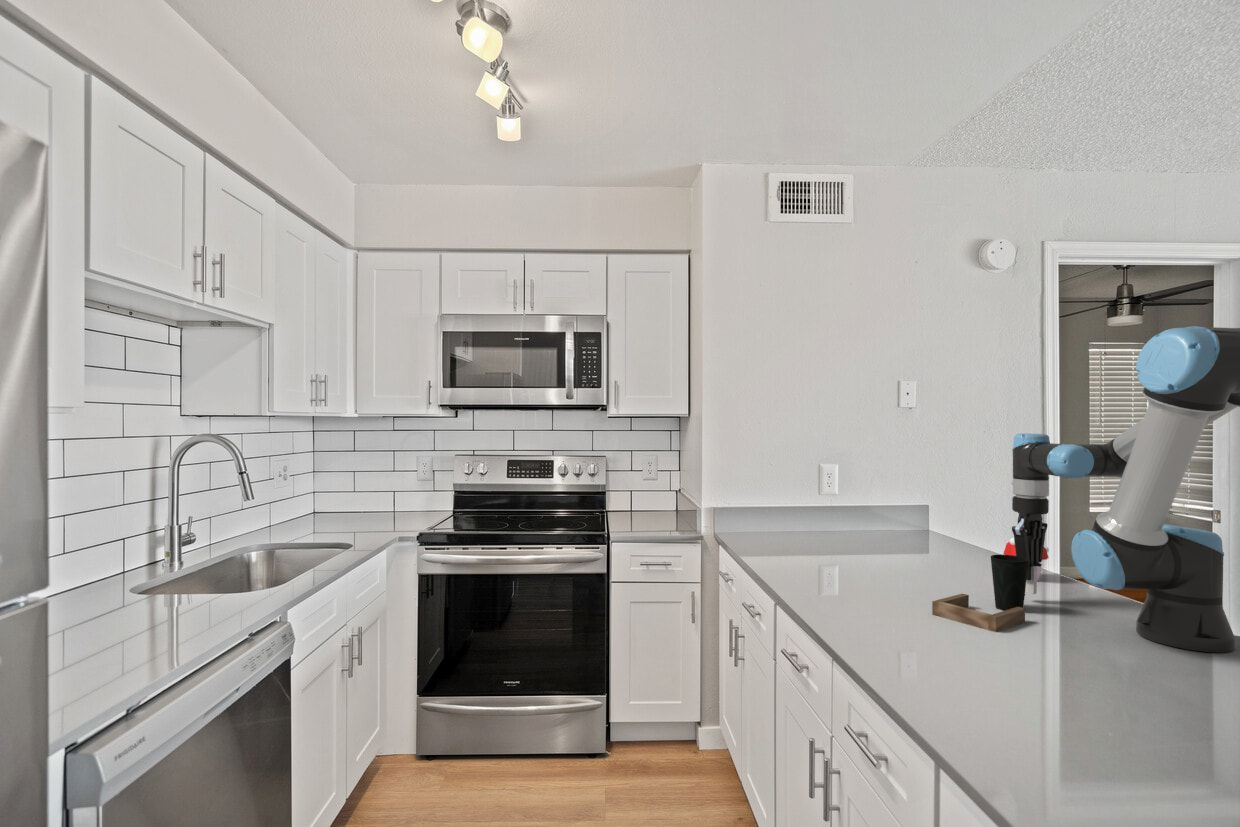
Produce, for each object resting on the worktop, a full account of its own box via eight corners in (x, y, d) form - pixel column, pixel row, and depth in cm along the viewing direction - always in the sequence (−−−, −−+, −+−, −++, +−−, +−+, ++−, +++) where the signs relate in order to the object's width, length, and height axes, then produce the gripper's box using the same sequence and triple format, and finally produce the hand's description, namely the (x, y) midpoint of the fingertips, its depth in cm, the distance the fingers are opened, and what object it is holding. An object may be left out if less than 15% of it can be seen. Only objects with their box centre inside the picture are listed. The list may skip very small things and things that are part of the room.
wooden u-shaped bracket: (1025, 621, 142) (1025, 608, 142) (995, 631, 135) (995, 617, 135) (962, 606, 154) (962, 593, 154) (932, 614, 147) (932, 601, 147)
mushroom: (1035, 574, 186) (1035, 533, 186) (1057, 584, 175) (1057, 540, 175) (996, 573, 187) (996, 532, 187) (1015, 583, 176) (1016, 539, 176)
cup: (1034, 614, 148) (1034, 562, 148) (997, 612, 149) (997, 560, 149) (1020, 605, 155) (1020, 555, 155) (985, 603, 157) (985, 553, 157)
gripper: (1027, 493, 164) (1025, 585, 164) (1000, 496, 157) (999, 592, 157) (1059, 496, 158) (1058, 592, 158) (1033, 500, 151) (1032, 600, 151)
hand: (1029, 592), depth 158 cm, fingers closed
